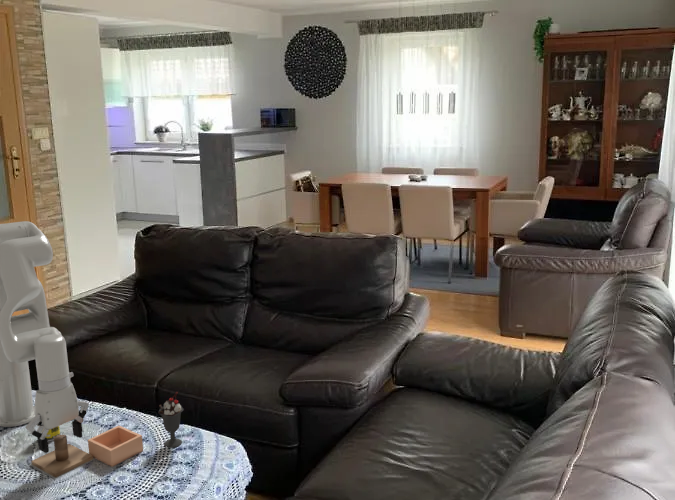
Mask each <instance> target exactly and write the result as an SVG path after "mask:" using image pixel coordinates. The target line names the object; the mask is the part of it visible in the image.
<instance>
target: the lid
mask: <svg viewBox="0 0 675 500" xmlns="http://www.w3.org/2000/svg"><path fill="white" fill-rule="evenodd" d="M53 446H54V450H52V451H49V452H48V453H45V454H44V455H41V456H39V457H37V458H35V459H32V460H31V463H32V465H34V466H36V467H37V468H39V469H41V470H43V471H45V472H46V473H48V474H50V475H52V476H54V477H55V478H56V477H58V476H60V475H62V474H64V473H66V472H68V471H70V470H72V469H74V468H76V467H78V466H80V465H82V464H84V463H86V462H88V461H90V460H92V459H93V455H91V454H89V452H86V451H84V450H82V449H80V448H78V447H77V446H74V445H72V444H70V443H68V436H67V435H66V434H60V435H58V436H56V437H54V440H53Z"/></svg>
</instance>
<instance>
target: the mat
mask: <svg viewBox="0 0 675 500" xmlns="http://www.w3.org/2000/svg"><path fill="white" fill-rule="evenodd" d="M95 460H96V459H95V458H93V459H92V460H90V461H88V462H86V463H84V464H82V465H80V466H78V467H76V468H74V469H72V470H70V471H68V472H66V473H64V474H62V475H60V476H58V477H56V478H55V477H54V476H52V475H50V474H48V473H46V472H45V471H43V470H41V469H39V468H37V467H36V466H34V465H32V462H31V463H30V464H28V466H30V467H32V468H34V469H35V470H37V471H40V472H41V473H43V474H45V475H47V476H49V477H50V478H52V479H53V480H57V479H58V478H60V477H62V476H65V475H66V474H69V473H71V472H72V471H75V470H76V469H77V470H78V469H79V468H81V467H82V466H85V465H87V464H88V463H91V462H93V461H95Z"/></svg>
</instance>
